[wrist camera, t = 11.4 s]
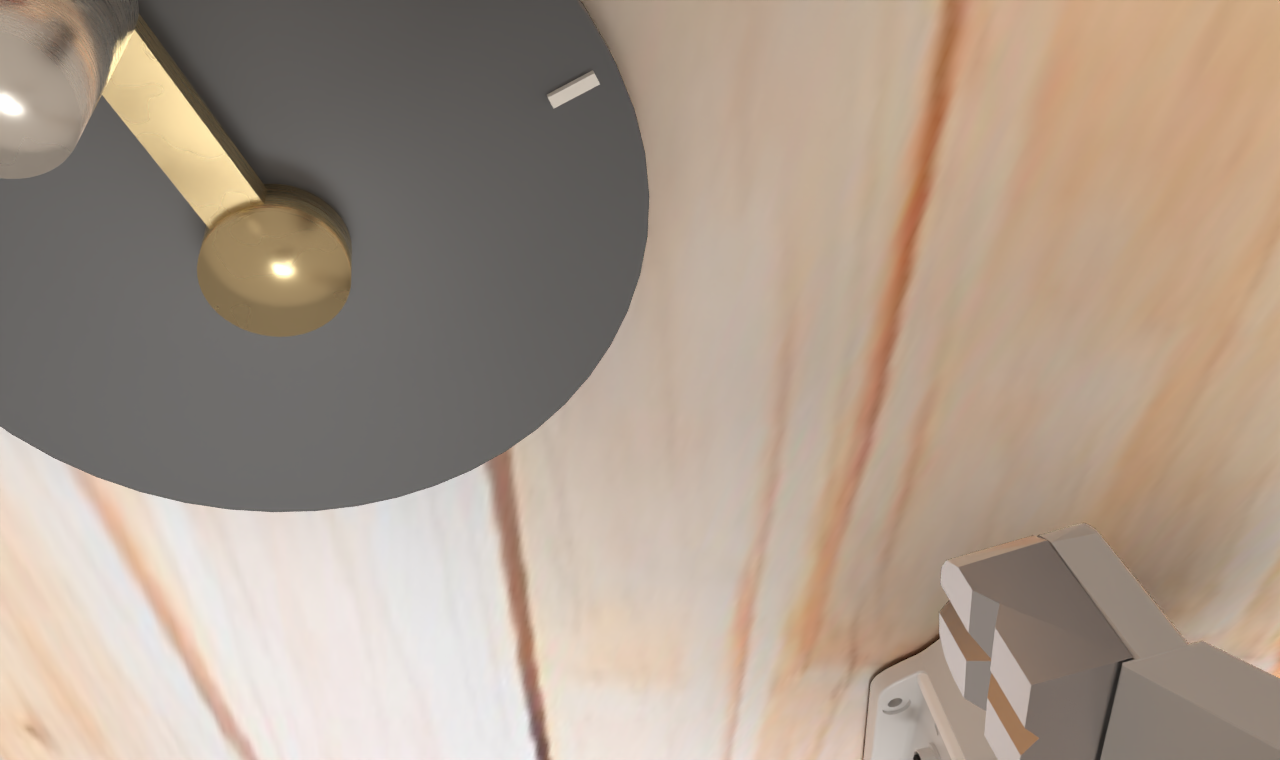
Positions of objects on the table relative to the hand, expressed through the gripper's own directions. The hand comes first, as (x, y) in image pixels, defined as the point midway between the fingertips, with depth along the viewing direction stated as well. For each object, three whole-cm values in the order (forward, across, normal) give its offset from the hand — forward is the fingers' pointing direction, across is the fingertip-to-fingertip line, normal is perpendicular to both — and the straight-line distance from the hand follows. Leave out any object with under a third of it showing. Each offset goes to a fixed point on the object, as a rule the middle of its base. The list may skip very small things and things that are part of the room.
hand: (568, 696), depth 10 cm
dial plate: (+25, +7, +6) cm, 27 cm away
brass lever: (+23, +8, +1) cm, 25 cm away
